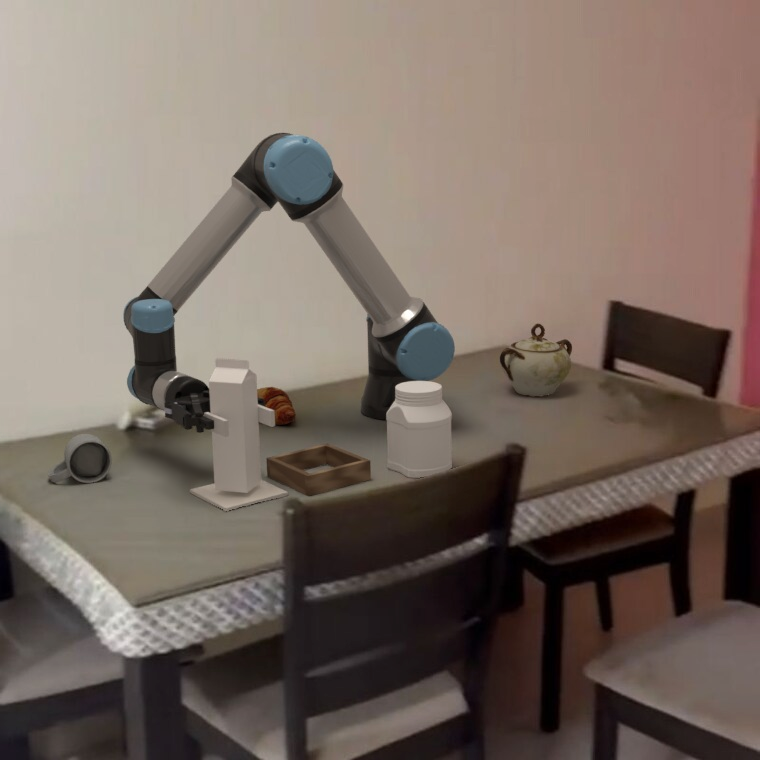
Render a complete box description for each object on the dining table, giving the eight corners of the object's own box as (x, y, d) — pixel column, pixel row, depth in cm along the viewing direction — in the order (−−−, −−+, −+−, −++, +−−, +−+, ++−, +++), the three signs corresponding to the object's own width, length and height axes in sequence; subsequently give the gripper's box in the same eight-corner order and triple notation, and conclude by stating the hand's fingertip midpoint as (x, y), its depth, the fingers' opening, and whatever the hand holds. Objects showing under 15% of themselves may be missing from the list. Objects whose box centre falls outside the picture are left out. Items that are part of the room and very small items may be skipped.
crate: (327, 461, 227) (327, 443, 226) (370, 479, 217) (370, 460, 216) (267, 476, 220) (266, 457, 219) (308, 496, 210) (308, 476, 209)
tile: (250, 477, 219) (250, 474, 219) (288, 495, 210) (287, 492, 210) (190, 492, 212) (189, 489, 212) (226, 511, 203) (225, 508, 203)
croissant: (231, 424, 265) (213, 394, 261) (266, 395, 269) (249, 366, 265) (283, 445, 248) (265, 414, 244) (320, 414, 252) (302, 383, 248)
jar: (379, 465, 225) (377, 384, 221) (421, 455, 230) (420, 376, 226) (417, 481, 216) (416, 397, 212) (460, 470, 221) (460, 388, 217)
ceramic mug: (105, 466, 227) (101, 426, 225) (114, 479, 220) (110, 438, 218) (45, 476, 223) (41, 435, 221) (52, 489, 216) (48, 447, 214)
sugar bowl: (548, 378, 283) (549, 313, 279) (593, 391, 271) (595, 323, 267) (478, 391, 273) (478, 324, 269) (522, 406, 261) (523, 336, 257)
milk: (229, 479, 215) (222, 353, 209) (262, 482, 213) (256, 355, 207) (214, 490, 209) (206, 362, 204) (247, 493, 207) (240, 364, 202)
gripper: (234, 406, 229) (304, 433, 211) (130, 427, 217) (194, 458, 199) (232, 366, 227) (302, 390, 209) (127, 385, 215) (192, 413, 197)
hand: (249, 423), depth 204 cm, fingers closed on milk, 8 cm apart
